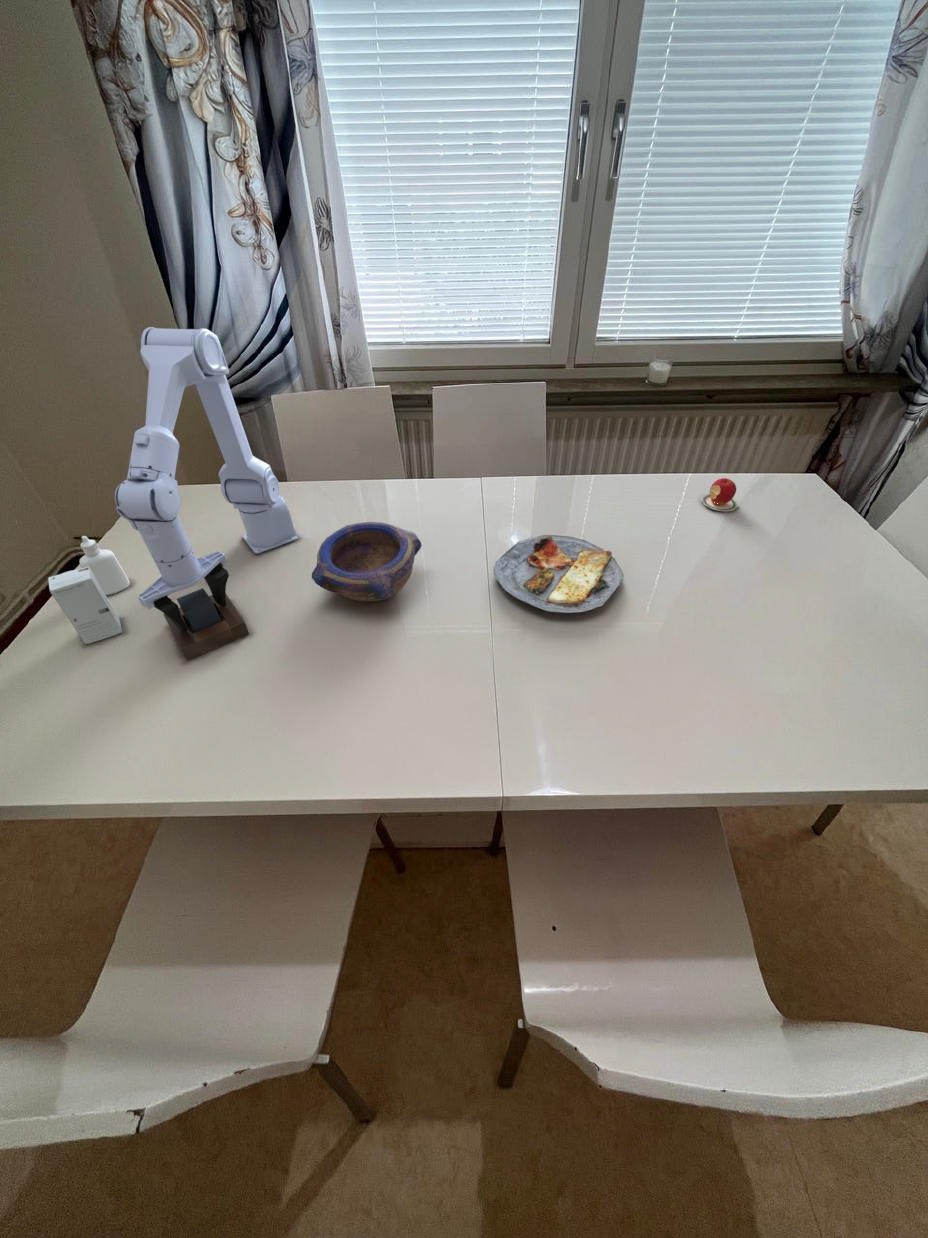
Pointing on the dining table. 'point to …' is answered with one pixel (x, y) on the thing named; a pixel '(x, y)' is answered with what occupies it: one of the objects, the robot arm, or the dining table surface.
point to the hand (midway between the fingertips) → (202, 616)
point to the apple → (721, 495)
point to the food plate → (559, 573)
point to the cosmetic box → (85, 604)
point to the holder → (210, 631)
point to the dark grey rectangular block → (199, 610)
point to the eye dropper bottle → (103, 567)
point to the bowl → (366, 561)
